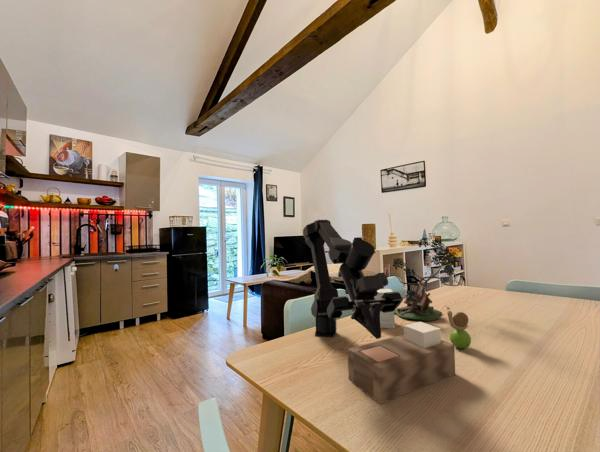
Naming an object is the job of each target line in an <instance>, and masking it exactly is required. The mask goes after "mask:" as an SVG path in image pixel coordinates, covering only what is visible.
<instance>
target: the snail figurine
mask: <svg viewBox="0 0 600 452" xmlns="http://www.w3.org/2000/svg"><path fill="white" fill-rule="evenodd" d="M446 310H447V311H446V314H447V316H448V321H449V325H450V326H451V328H453V329H452V330H451V332H450V333H449V340H450V343H451V344H454V347H455V348H456V349H457V348H458V349H466V348H469V347H470V345H471V343H472V338H471V335H470V334H469V333H468V331H466V329H467V328H468V327H469V325H468V323H469V317H468V315H467V314H466V313H465V312H463V311H462V312H461V311H457V312H456V313H455V314H454V315H453V311H451V308H450V307H448V306H446Z"/></svg>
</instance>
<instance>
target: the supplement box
mask: <svg viewBox="0 0 600 452" xmlns="http://www.w3.org/2000/svg"><path fill="white" fill-rule="evenodd" d="M377 292H378V294H377V296H374V298H375V299H380V298H381V297H382V296H383V294H384V293H386V292H394V291H393V290H392V288H383V289H380V290H377ZM395 320H396V319H395V313H394V311H393V312H386V313H383V312H382V311H380V327H381V329H382V328H384V329H395Z"/></svg>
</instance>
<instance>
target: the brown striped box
mask: <svg viewBox="0 0 600 452" xmlns="http://www.w3.org/2000/svg"><path fill="white" fill-rule="evenodd" d="M377 346H381V347H383V348H385V349H387V350H389V351H391V352H393V353H395V354H397V355H399V357H396V358H392V359H389V360H386V361H383V362H379V363H378V362H376V361H375V360H373V359H371V358H370V357H368V356H366V355H364V354H363V353H361V352H360V351H362V350H366V349H370V348H374V347H377ZM455 350H456V348H455V346H454V344H452V343H451V342H448V341H446V340H443V339H441V344H438V345H435V346H431V347H428V348H425V349H424V348H422V347H419V346H417V345H415V344H413V343H410V342H408V341H406V340H404V334H401V335H397V336H393V337H388V338H385V339H381V340H377V341H374V342H369V343H366V344H362V345H358V346H354V347H351V348H348V349H347V365H348V367H347V368H348V369H347V370H348V380H350V381H351V382H352V383H353V384H354V385H356V386H357V387H358V388H360V389H361V390H362V391H363V392H364V393H366V394H368V395H369V396H370V397H371V398H373V399H374V400H375V401H376V402H378V403H379V404H384V403H385V402H387V401H391V400H394V399H395V398H399V397H401V396H403V395H406V394H408V393H411V392H414V391H416V390H417V389H421V388H424V387H426V386H428V385H430V384H434V383H436V382H438V381H441V380H443V379H446V378H448V377H450V376H453V375H456V357H455V356H456V355H455V354H456V353H455Z"/></svg>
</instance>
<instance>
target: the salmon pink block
mask: <svg viewBox="0 0 600 452" xmlns="http://www.w3.org/2000/svg"><path fill="white" fill-rule="evenodd" d="M360 352H361V353H363V354H364V355H366V356H368V357H370V358H371V359H373V360H375V361H376V362H378V363H379V362H383V361H386V360H389V359H392V358H396V357H399V355H397V354H395V353H393V352H391V351H389V350H387V349H385V348H383V347H381V346H377V347H374V348H370V349H366V350H362V351H360Z"/></svg>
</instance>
